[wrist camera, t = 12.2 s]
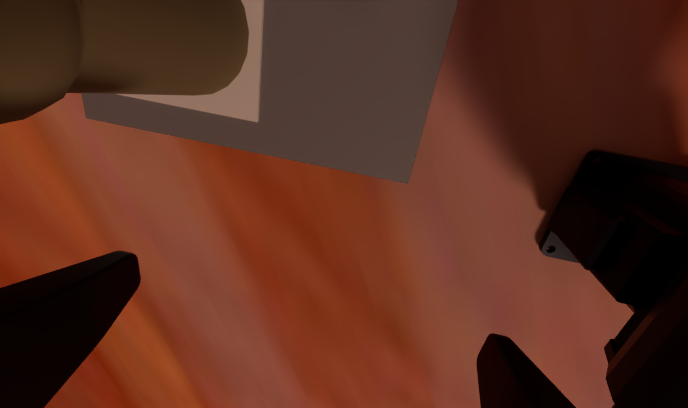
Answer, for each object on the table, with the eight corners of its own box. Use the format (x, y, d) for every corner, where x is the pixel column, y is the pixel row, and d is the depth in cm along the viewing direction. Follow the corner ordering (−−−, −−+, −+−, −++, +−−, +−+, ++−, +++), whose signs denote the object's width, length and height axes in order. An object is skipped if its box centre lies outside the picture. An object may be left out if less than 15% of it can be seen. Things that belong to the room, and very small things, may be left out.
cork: (98, 5, 15) (-461, -84, 5) (186, -91, 13) (-454, -532, 3) (186, 118, 17) (-107, 213, 7) (274, 49, 15) (42, 46, 5)
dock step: (470, -67, 14) (482, -87, 12) (406, 171, 19) (408, 185, 17) (77, -131, 15) (28, -160, 13) (113, 111, 20) (83, 118, 18)
